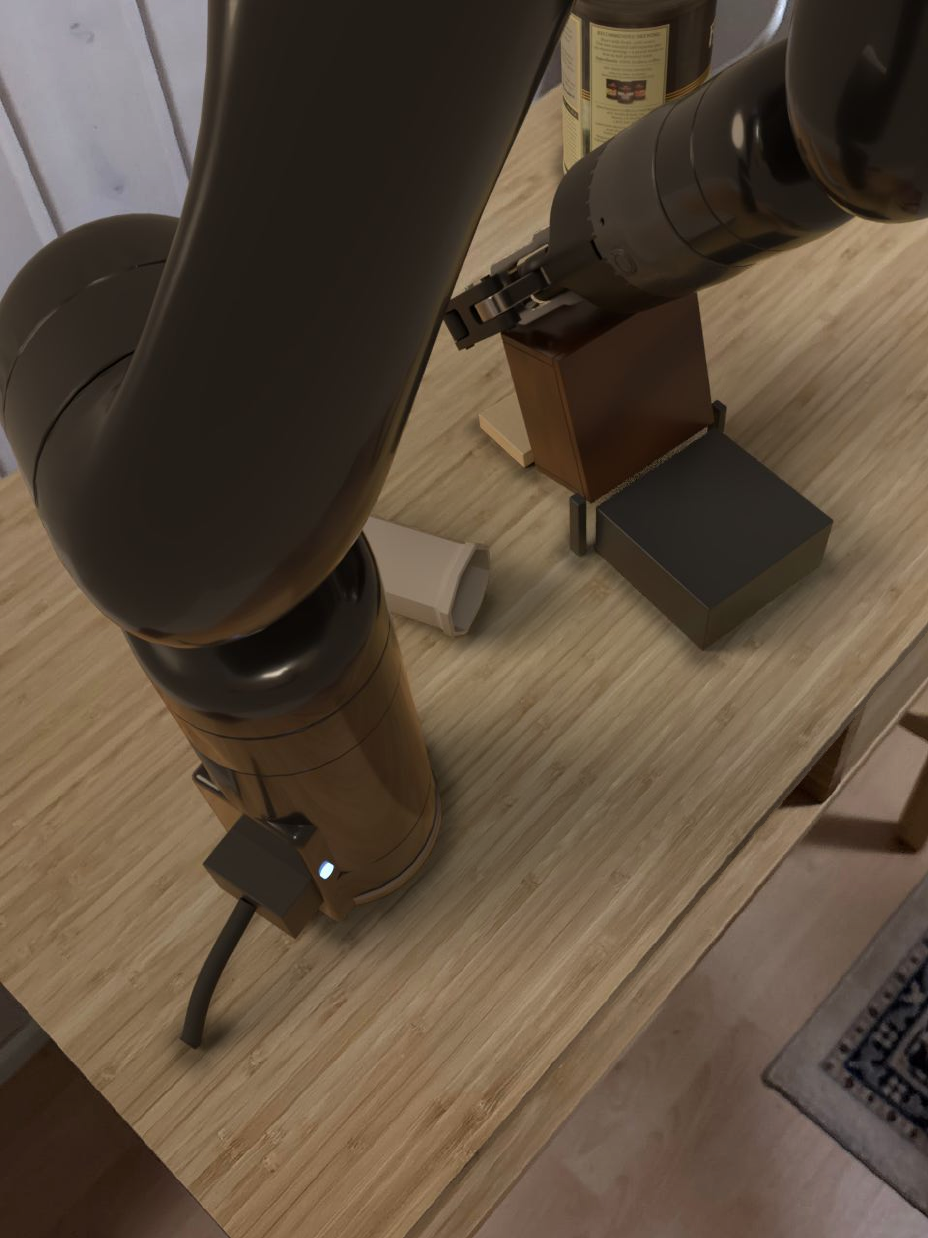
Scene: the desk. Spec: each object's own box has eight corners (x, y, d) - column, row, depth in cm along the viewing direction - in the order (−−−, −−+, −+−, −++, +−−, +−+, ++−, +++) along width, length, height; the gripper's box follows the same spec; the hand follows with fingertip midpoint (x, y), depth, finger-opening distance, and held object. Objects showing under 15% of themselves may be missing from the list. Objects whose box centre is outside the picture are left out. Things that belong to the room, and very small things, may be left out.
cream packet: (565, 441, 70) (565, 428, 69) (524, 468, 69) (523, 454, 68) (520, 402, 72) (519, 388, 71) (479, 427, 71) (478, 413, 70)
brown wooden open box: (691, 243, 57) (598, 212, 62) (550, 329, 54) (466, 289, 60) (714, 421, 64) (630, 380, 69) (591, 504, 62) (513, 455, 67)
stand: (834, 554, 63) (850, 501, 59) (689, 662, 60) (695, 613, 57) (710, 453, 68) (717, 398, 64) (569, 548, 65) (568, 497, 61)
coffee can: (675, 108, 87) (689, -89, 75) (724, 189, 81) (747, -11, 69) (544, 138, 86) (537, -56, 75) (583, 222, 81) (583, 25, 69)
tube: (48, 494, 66) (440, 623, 58) (87, 412, 67) (478, 528, 59) (97, 526, 71) (464, 649, 63) (132, 449, 72) (498, 561, 64)
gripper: (754, 55, 50) (585, 167, 65) (498, 198, 46) (381, 282, 61) (824, 213, 52) (644, 286, 67) (583, 364, 48) (449, 405, 63)
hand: (518, 284), depth 64 cm, fingers open, 8 cm apart
